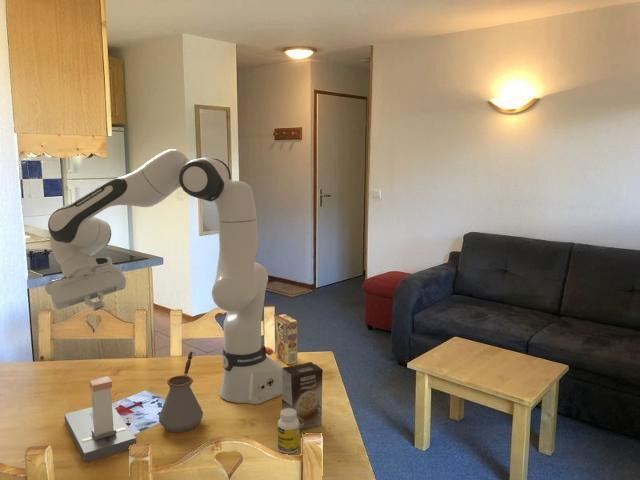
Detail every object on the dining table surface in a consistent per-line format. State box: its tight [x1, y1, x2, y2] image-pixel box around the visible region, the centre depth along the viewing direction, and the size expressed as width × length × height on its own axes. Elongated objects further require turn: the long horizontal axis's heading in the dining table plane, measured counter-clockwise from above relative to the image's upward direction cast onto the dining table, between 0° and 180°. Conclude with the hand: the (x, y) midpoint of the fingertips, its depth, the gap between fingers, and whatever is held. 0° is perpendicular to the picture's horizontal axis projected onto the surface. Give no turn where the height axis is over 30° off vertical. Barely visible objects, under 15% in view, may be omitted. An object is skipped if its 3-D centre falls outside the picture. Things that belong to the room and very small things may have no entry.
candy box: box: [274, 313, 298, 365], centre depth 190 cm, size 9×4×15 cm, turn 33°
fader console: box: [64, 404, 137, 464], centre depth 142 cm, size 12×23×3 cm, turn 35°
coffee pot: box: [158, 350, 204, 434], centre depth 150 cm, size 21×12×15 cm, turn 1°
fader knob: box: [89, 375, 117, 440], centre depth 136 cm, size 5×4×14 cm
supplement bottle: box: [277, 408, 300, 454], centre depth 135 cm, size 5×5×10 cm
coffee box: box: [281, 361, 324, 432], centre depth 146 cm, size 9×6×16 cm
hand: (99, 308), depth 154 cm, fingers closed
